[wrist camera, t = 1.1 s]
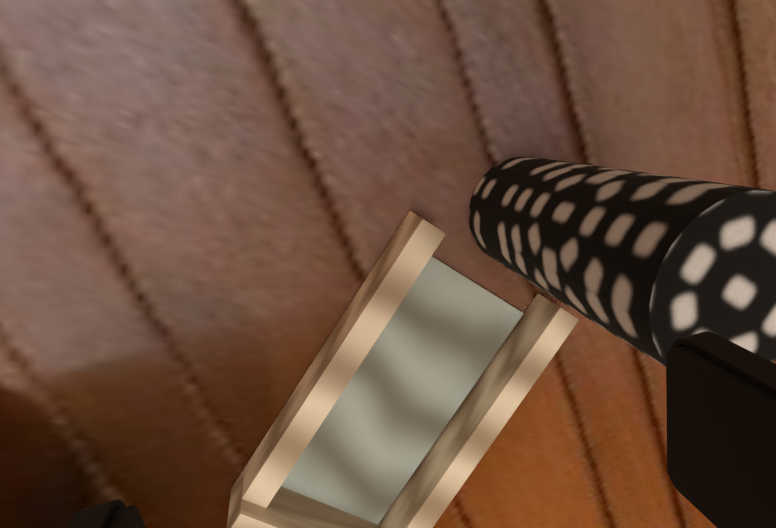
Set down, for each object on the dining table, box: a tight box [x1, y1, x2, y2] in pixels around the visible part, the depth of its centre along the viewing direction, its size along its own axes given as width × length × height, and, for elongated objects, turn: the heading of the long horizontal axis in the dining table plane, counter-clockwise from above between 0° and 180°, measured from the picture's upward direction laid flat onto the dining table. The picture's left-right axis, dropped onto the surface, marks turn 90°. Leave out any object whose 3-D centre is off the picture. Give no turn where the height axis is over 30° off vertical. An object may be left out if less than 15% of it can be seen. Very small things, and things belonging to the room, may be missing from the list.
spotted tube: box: [469, 157, 776, 367], centre depth 30 cm, size 8×8×20 cm
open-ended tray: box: [227, 211, 579, 528], centre depth 39 cm, size 26×15×5 cm, turn 147°
